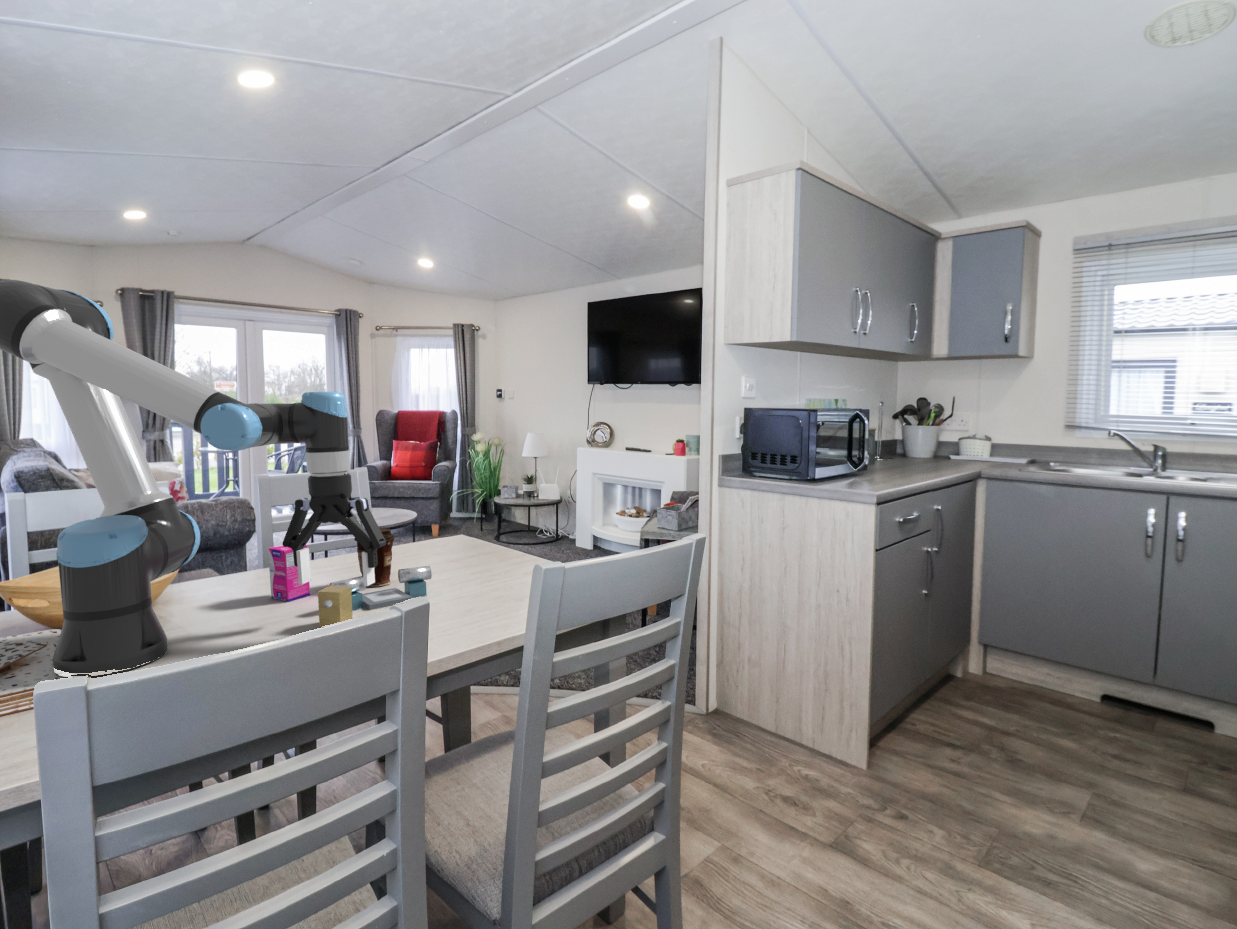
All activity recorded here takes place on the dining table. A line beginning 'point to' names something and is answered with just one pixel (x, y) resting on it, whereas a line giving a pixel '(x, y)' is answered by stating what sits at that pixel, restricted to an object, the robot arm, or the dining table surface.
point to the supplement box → (285, 575)
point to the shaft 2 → (415, 580)
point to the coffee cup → (380, 559)
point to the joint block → (334, 604)
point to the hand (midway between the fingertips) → (337, 583)
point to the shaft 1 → (353, 590)
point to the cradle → (384, 598)
